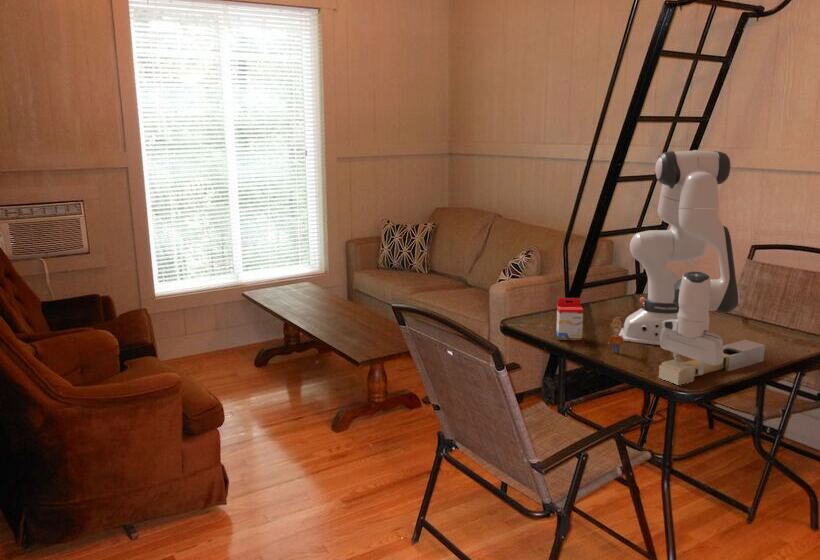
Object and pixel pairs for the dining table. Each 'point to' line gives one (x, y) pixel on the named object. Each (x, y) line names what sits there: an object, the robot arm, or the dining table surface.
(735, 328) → the dining table surface
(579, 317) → the ink box
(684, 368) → the sleeve and socket
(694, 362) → the tan block
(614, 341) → the toy
